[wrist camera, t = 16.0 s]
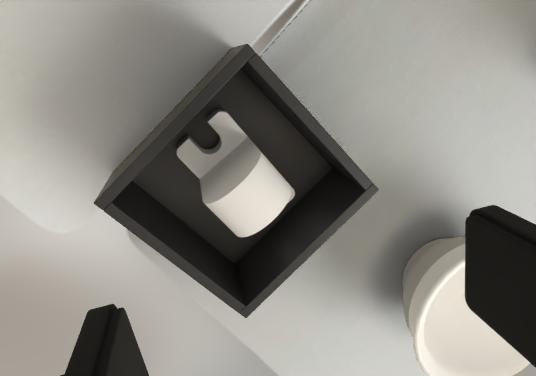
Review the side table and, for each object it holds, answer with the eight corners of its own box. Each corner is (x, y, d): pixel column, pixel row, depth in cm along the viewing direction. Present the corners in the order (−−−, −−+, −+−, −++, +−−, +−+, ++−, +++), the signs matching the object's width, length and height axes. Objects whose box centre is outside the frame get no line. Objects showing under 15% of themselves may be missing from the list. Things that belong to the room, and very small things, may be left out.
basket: (112, 172, 33) (93, 203, 26) (232, 47, 32) (247, 43, 25) (234, 270, 39) (246, 318, 31) (341, 165, 37) (379, 190, 30)
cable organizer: (220, 105, 33) (236, 123, 23) (292, 187, 36) (330, 231, 27) (173, 147, 33) (170, 181, 24) (249, 224, 36) (272, 281, 27)
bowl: (356, 333, 44) (395, 393, 36) (392, 200, 40) (444, 234, 32) (475, 334, 48) (534, 388, 40) (519, 213, 44) (594, 246, 36)
